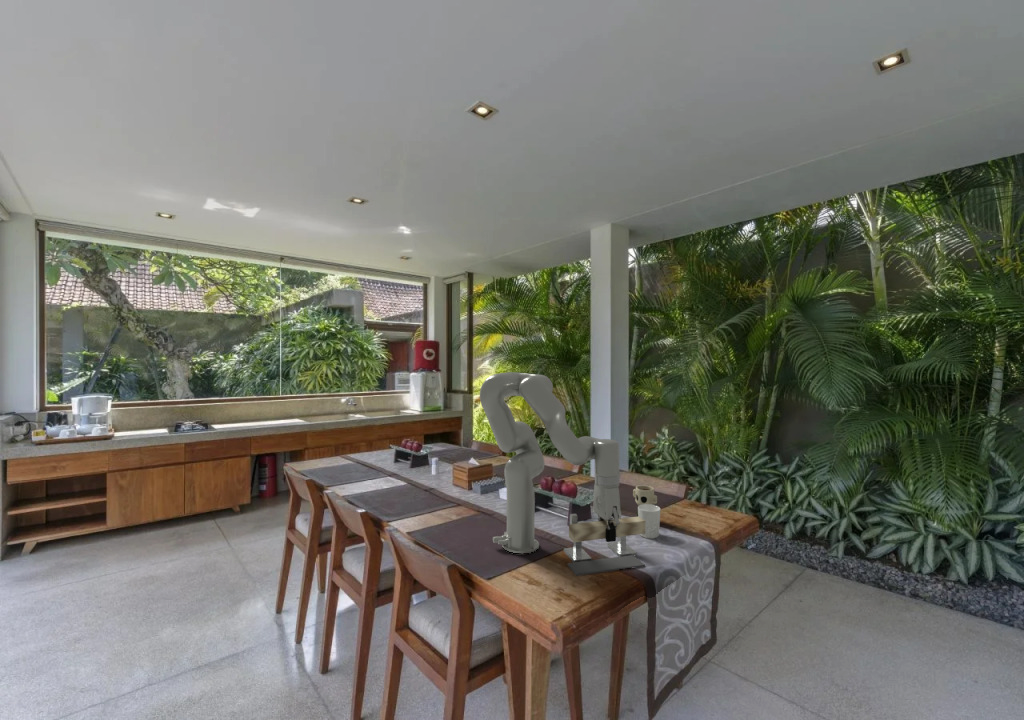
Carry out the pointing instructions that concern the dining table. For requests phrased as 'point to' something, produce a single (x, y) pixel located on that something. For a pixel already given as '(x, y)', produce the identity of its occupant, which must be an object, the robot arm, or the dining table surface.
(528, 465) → the robot arm
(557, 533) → the dining table surface
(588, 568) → the mat
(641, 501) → the character mug
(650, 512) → the white cup
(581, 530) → the rail
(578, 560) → the hook stands
